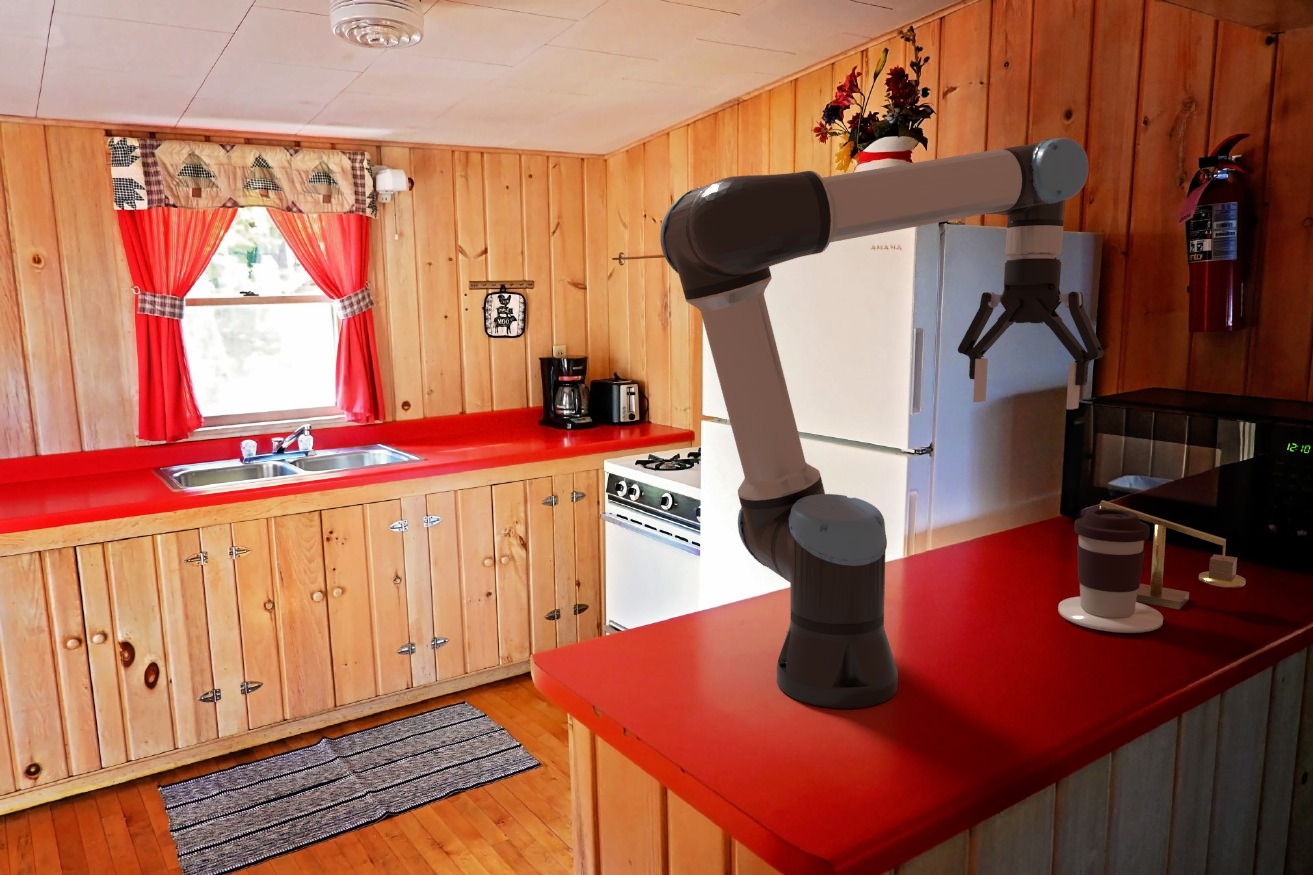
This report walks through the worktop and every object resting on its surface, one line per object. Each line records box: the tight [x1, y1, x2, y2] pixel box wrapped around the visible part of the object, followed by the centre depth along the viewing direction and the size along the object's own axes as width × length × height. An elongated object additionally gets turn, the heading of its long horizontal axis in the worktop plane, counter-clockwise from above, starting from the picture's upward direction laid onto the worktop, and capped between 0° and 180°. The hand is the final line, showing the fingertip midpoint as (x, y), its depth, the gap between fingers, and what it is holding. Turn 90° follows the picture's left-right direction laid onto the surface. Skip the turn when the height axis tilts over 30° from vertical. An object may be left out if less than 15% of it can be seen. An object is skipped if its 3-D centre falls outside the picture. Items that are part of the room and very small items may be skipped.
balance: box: [1099, 499, 1247, 611], centre depth 143 cm, size 6×24×15 cm, turn 48°
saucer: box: [1057, 596, 1164, 634], centre depth 136 cm, size 14×14×1 cm
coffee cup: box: [1073, 507, 1151, 618], centre depth 135 cm, size 10×10×15 cm
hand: (1024, 405), depth 134 cm, fingers open, 13 cm apart
